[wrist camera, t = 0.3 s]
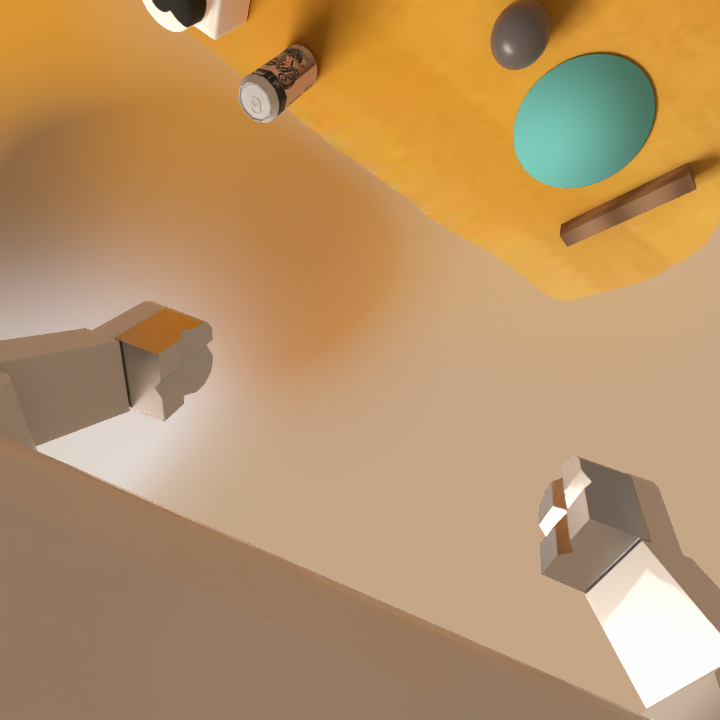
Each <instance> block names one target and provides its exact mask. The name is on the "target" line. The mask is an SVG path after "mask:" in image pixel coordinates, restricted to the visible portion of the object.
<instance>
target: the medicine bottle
mask: <svg viewBox="0 0 720 720" xmlns="http://www.w3.org/2000/svg"><path fill="white" fill-rule="evenodd" d="M143 2H144V4H145V6H146V8H147V10H148V11H149V13H150V14H151V15H152V16H153V17H154V18H155V20H156V21H157V22H158V23H160V24H161V25H162V26H163V27H165V28H166V29H168V30H171V31H174V32H180V31H183V30H185V29H188V28H190V27H192V26H195V27H197V28H198V29H200V30H201V31H202V32H204V33H205V34H207V35H208V36H210V37H211V38H213V39H218V38H220V37H221V36H223V35H225V34H227V33H229V32H231V31H232V30H234V29H236V28H238V27H240V26H242V25H243V24H245V23H246V21H247V16H248V10H249V5H250V0H143Z"/></svg>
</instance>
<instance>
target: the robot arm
mask: <svg viewBox="0 0 720 720" xmlns="http://www.w3.org/2000/svg"><path fill="white" fill-rule="evenodd" d="M210 341H212V327H211V326H210V325H209V324H208V323H207V322H205V321H202V320H200V319H197V318H195V317H192V316H189V315H187V314H184V313H181V312H179V311H176V310H174V309H171V308H168V307H166V306H163V305H160V304H157V303H155V302H152V301H145V302H143V303H141V304H139V305H137V306H135V307H134V308H132V309H130V310H129V311H126V312H125V313H123V314H121V315H119V316H118V317H116V318H114V319H112V320H110V321H108V322H106V323H105V324H103V325H101V326H99V327H97V328H96V329H94V330H89V329H86V328H85V329H78V330H71V331H64V332H57V333H50V334H43V335H36V336H29V337H22V338H15V339H8V340H1V341H0V720H720V589H719V588H718V587H717V586H716V585H715V583H714V582H713V581H712V580H711V579H710V578H709V577H708V576H707V575H706V574H705V573H704V571H703V570H701V568H700V567H699V566H698V565H697V564H696V563H695V562H694V561H693V560H692V559H691V558H688V557H686V556H683V554H682V552H681V549H680V546H679V544H678V541H677V538H676V535H675V532H674V530H673V527H672V524H671V521H670V518H669V515H668V513H667V510H666V507H665V504H664V502H663V499H662V496H661V493H660V490H659V488H658V486H657V485H656V484H655V483H653V482H652V481H649V480H646V479H643V478H640V477H637V476H634V475H631V474H628V473H623V472H620V471H617V470H614V469H611V468H609V467H606V466H603V465H600V464H597V463H594V462H591V461H589V460H586V459H583V458H580V457H578V456H575V455H573V456H572V457H570V458H569V459H568V460H567V461H566V462H565V464H564V465H563V467H562V476H563V478H561V479H558V480H555V481H552V482H551V483H550V485H549V486H548V488H547V489H546V491H545V493H544V495H543V499H542V501H541V504H540V510H539V525H540V527H541V529H542V530H543V532H544V533H545V534H546V537H545V538H544V539H543V541H542V542H541V543H540V553H541V569H542V570H541V572H542V574H543V575H545V576H547V577H550V578H552V579H554V580H556V581H559V582H561V583H563V584H566V585H568V586H570V587H573V588H575V589H577V590H580V591H582V592H584V593H587V594H586V595H585V596H586V598H587V600H588V601H589V603H590V605H591V607H592V609H593V611H594V613H595V614H596V616H597V618H598V620H599V622H600V623H601V625H602V627H603V629H604V631H605V633H606V635H607V636H608V638H609V640H610V642H611V644H612V646H613V648H614V649H615V651H616V653H617V655H618V657H619V659H620V661H621V662H622V664H623V666H624V668H625V670H626V671H627V673H628V675H629V677H630V679H631V681H632V683H633V685H634V686H635V688H636V690H637V692H638V694H639V696H640V697H641V699H642V701H643V703H644V705H645V706H646V709H645V710H643V711H641V712H639V713H637V712H635V711H632V710H630V709H627V708H625V707H623V706H621V705H618V704H616V703H614V702H611V701H609V700H607V699H604V698H602V697H600V696H598V695H595V694H593V693H591V692H589V691H586V690H584V689H581V688H580V687H577V686H575V685H573V684H570V683H568V682H566V681H563V680H561V679H559V678H557V677H554V676H552V675H550V674H547V673H545V672H543V671H541V670H538V669H536V668H533V667H531V666H529V665H527V664H524V663H522V662H520V661H518V660H515V659H513V658H511V657H508V656H506V655H504V654H502V653H499V652H497V651H494V650H492V649H490V648H488V647H485V646H483V645H481V644H478V643H476V642H474V641H472V640H469V639H467V638H465V637H462V636H460V635H458V634H455V633H453V632H451V631H449V630H446V629H444V628H442V627H439V626H437V625H435V624H432V623H430V622H428V621H426V620H423V619H421V618H419V617H416V616H414V615H412V614H409V613H407V612H405V611H403V610H400V609H398V608H395V607H393V606H391V605H389V604H386V603H384V602H381V601H380V600H377V599H375V598H372V597H370V596H368V595H366V594H363V593H361V592H359V591H356V590H354V589H352V588H349V587H347V586H345V585H343V584H340V583H338V582H336V581H333V580H331V579H329V578H327V577H324V576H322V575H319V574H317V573H315V572H313V571H310V570H308V569H306V568H304V567H301V566H299V565H297V564H294V563H292V562H290V561H288V560H285V559H283V558H281V557H278V556H276V555H274V554H272V553H269V552H267V551H265V550H262V549H260V548H258V547H256V546H253V545H251V544H249V543H246V542H244V541H242V540H240V539H237V538H235V537H232V536H230V535H228V534H226V533H224V532H221V531H219V530H217V529H214V528H212V527H210V526H208V525H205V524H203V523H201V522H198V521H196V520H194V519H192V518H189V517H187V516H184V515H182V514H180V513H178V512H175V511H173V510H171V509H169V508H166V507H164V506H162V505H159V504H157V503H155V502H153V501H150V500H148V499H146V498H143V497H141V496H139V495H137V494H134V493H132V492H130V491H127V490H125V489H123V488H120V487H118V486H116V485H114V484H111V483H109V482H107V481H104V480H102V479H100V478H97V477H95V476H93V475H91V474H88V473H86V472H84V471H81V470H79V469H77V468H75V467H72V466H70V465H67V464H65V463H63V462H61V461H58V460H56V459H54V458H52V457H49V456H47V455H45V454H42V453H40V452H38V451H37V449H36V446H38V445H40V444H43V443H46V442H48V441H51V440H54V439H56V438H59V437H62V436H64V435H67V434H70V433H72V432H75V431H78V430H80V429H83V428H85V427H88V426H91V425H93V424H96V423H98V422H101V421H104V420H107V419H110V418H112V417H115V416H117V415H120V414H123V413H125V412H128V411H130V409H132V410H135V411H137V412H140V413H142V414H145V415H148V416H151V417H153V418H156V419H159V420H161V421H165V420H166V419H168V418H169V417H170V416H171V415H172V414H173V413H174V412H175V411H176V410H177V409H179V407H181V406H182V405H183V404H184V395H187V394H191V393H194V392H197V391H198V390H199V389H200V388H201V387H202V386H203V385H204V383H205V382H206V380H207V378H208V376H209V375H210V372H211V368H212V359H213V355H212V354H211V352H210V350H209V349H208V347H207V344H208V343H209V342H210Z"/></svg>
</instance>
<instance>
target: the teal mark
mask: <svg viewBox="0 0 720 720" xmlns="http://www.w3.org/2000/svg"><path fill="white" fill-rule="evenodd" d="M654 114H655V98H654V92H653V89H652V86H651V83H650V82H649V80H648V78H647V76H646V75H645V74H644V72H643V71H642V70H641V69H640V68H639V67H638V66H636V65H635V64H634V63H632V62H631V61H629V60H627V59H625V58H622V57H619V56H616V55H611V54H589V55H584V56H580V57H576V58H573V59H571V60H568V61H566V62H564V63H562V64H560V65H558V66H556V67H555V68H553V69H552V70H550V71H549V72H548V73H546V74H545V75H544V76H543V77H542V78H541V79H540V80H539V81H538V82H537V83H536V84H535V85H534V86H533V87H532V88H531V90H530V91H529V92H528V94H527V95H526V97H525V99H524V100H523V102H522V104H521V106H520V108H519V111H518V114H517V117H516V120H515V125H514V134H513V139H514V147H515V152H516V154H517V157H518V159H519V161H520V163H521V165H522V166H523V168H524V169H525V170H526V171H527V172H528V173H529V174H530V175H531V176H532V177H534V178H535V179H536V180H538V181H540V182H542V183H544V184H547V185H550V186H554V187H559V188H578V187H584V186H588V185H592V184H595V183H598V182H600V181H602V180H604V179H606V178H608V177H610V176H612V175H613V174H615V173H616V172H618V171H619V170H621V169H622V168H623V167H624V166H625V165H627V164H628V163H629V162H630V161H631V160H632V159H633V158H634V157H635V155H636V154H637V153H638V152H639V150H640V149H641V148H642V146H643V144H644V143H645V141H646V139H647V137H648V135H649V133H650V130H651V128H652V124H653V120H654Z"/></svg>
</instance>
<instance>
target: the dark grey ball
mask: <svg viewBox="0 0 720 720" xmlns="http://www.w3.org/2000/svg"><path fill="white" fill-rule="evenodd" d="M550 33H551V21H550V17H549V14H548V12H547V10H546V8H545V7H544V6H543V5H542V4H541V3H539V2H537V1H535V0H518V1H516V2H514V3H512V4H510V5H509V6H508V7H507V8H505V9H504V10H503V12H502V13H501V14H500V15H499V17H498V18H497V20H496V22H495V24H494V27H493V29H492V33H491V50H492V54H493V56H494V58H495V60H496V61H497V62H498V63H499V64H500V65H501V66H502V67H504V68H506V69H510V70H519V69H523V68H526V67H528V66H529V65H531V64H532V63H534V62H535V61H536V60H537V59H538V58H539V57H540V56H541V54H542V53H543V52H544V50H545V48H546V46H547V44H548V41H549V38H550Z"/></svg>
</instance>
